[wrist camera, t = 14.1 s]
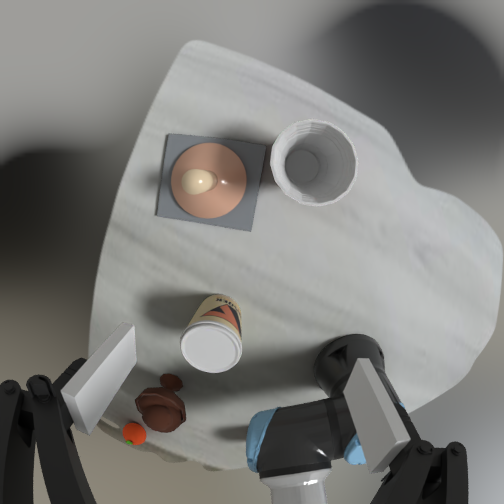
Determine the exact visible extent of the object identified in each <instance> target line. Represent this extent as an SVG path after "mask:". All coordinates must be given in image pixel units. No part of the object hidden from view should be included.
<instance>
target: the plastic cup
mask: <svg viewBox="0 0 504 504" xmlns="http://www.w3.org/2000/svg"><path fill="white" fill-rule="evenodd" d="M358 163H359V161H358V157H357V154H356V150H355V147H354V144H353V143H352V142H351V140H350V139H349V138H348V136H347V135H346V134H345V132H344V131H343V130H341V129H340V128H338V127H336V126H335V125H333V124H331V123H330V122H327V121H322V120H316V119H307V120H303V121H298V122H294V123H293V124H291V125H290V126H289V127H287V128H286V129H284V130H283V131H282V132H281V133H280V134H279V136H278V138H277V139H276V141H275V143H274V144H273V146H272V152H271V160H270V165H271V169H272V172H273V176H274V180H275V182H276V183H277V184H278V185H279V187H280V188H281V189H282V191H283V192H284V193H285V194H286V195H287V196H289V197H290V198H292V199H294V200H295V201H297V202H299V203H300V204H305V205H311V206H317V207H319V206H323V205H327V204H332V203H335V202H337V201H338V200H339V199H341V198H342V197H343V196H345V195H346V194H347V193H349V191H350V189H351V187H352V186H353V184H354V182H355V180H356V179H357V172H358Z"/></svg>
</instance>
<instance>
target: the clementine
mask: <svg viewBox="0 0 504 504" xmlns="http://www.w3.org/2000/svg"><path fill="white" fill-rule="evenodd" d="M123 436H124V438H125V440H126V443H128V444H133V445H139V444H142V443H143V442H144V441H145V439H146V432H145V430H144V428H143V427H142V426H141V425H139V424H136V423H129V424H127V425H126V426H125V427H124V428H123Z"/></svg>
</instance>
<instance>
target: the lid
mask: <svg viewBox="0 0 504 504" xmlns="http://www.w3.org/2000/svg"><path fill="white" fill-rule="evenodd" d="M246 183H247V176H246V171H245V167H244V165H243V163H242V161H241V160H240V158H239V157H238V156H237V154H235V153H234V152H233V151H232V150H231V149H229V148H228V147H226V146H223V145H221V144H217V143H202V144H198V145H195V146H193V147H191V148H189V149H188V150H187V151H185V152H184V153H183V154H182V155H181V156H180V157H179V159H178V160H177V162H176V164H175V166H174V168H173V171H172V176H171V186H172V191H173V195H174V197H175V199H176V201H177V202H178V204H179V205H180V206H181V207H182V208H183V209H184V210H185V211H187V212H188V213H190V214H191V215H193V216H196V217H200V218H217V217H220V216H223V215H225V214H227V213H228V212H230V211H231V210H232V209H234V208H235V207H236V206H237V205H238V203H239V202H240V200H241V199H242V197H243V195H244V192H245V189H246Z"/></svg>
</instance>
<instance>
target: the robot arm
mask: <svg viewBox="0 0 504 504" xmlns="http://www.w3.org/2000/svg"><path fill="white" fill-rule="evenodd" d="M136 362H137V358H136V346H135V331H134V325H132V324H128V323H125V322H122V323H121V324H120V325H119V327H118V328H117V329H116V330H115V331H114V332H113V333H112V334H111V335H110V336H109V337H108V338H107V339H106V340H105V342H104V343H103V344H102V345H101V346H100V347H99V348H98V349H97V350H96V351H95V352H94V354H93V355H92V356H91V357H90V358H89V359H88V360H86V359H84V358H79V359H78V360H75V361H74V362H72V364H71V365H70V366H69V367H68V368H67V369H66V370H65V371H64V373H62V374H61V376H59V378H58V379H57V380H56V381H55V382H54V383H53V384H52V383H51V381H50V379H49V378H48V377H47V376H44V375H34V376H32V377H30V378H29V379H28V381H27V384H26V386H27V388H28V391H25V390H22V389H21V387H20V385H19V384H18V382H16V381H14V380H6V381H4V382H3V383H1V385H0V504H33V470H34V453H35V444H36V442H37V448H38V453H39V459H40V464H41V469H42V473H43V477H44V481H45V485H46V488H47V492H48V495H49V498H50V502H51V504H96V501H95V499H94V497H93V494H92V492H91V489H90V487H89V484H88V482H87V479H86V476H85V474H84V471H83V468H82V465H81V462H80V459H79V456H78V452H77V449H76V446H75V442H74V439H73V434H72V431H71V429H70V427H71V425H72V424H73V423H74V425H75V427H76V429H77V430H79V431H81V432H83V433H85V434H87V435H90V434H91V433H92V431H93V429H94V428H95V426H96V424H97V423H98V421H99V420H100V418H101V416H102V415H103V413H104V412H105V410H106V408H107V407H108V405H109V404H110V402H111V401H112V399H113V397H114V396H115V394H116V393H117V391H118V390H119V388H120V387H121V385H122V383H123V382H124V380H125V379H126V377H127V376H128V374H129V373H130V371H131V370H132V368H133V367H134V365H135V364H136ZM314 374H315V378H316V381H317V383H318V385H319V387H320V388H321V389H322V390H324V392H325V393H326V394H327V396H328V397H329V398H327V399H322V400H318V401H313V402H308V403H304V404H298V405H293V406H287V407H277V408H275V409H270V410H265V411H260V412H258V413H256V414H255V415H254V416H253V417H252V419H251V421H250V424H249V427H248V431H247V438H246V456H247V463H248V467H249V469H250V470H251V471H253V472H256V473H259V476H260V481H261V482H262V483H264V484H265V485H267V486H268V487H269V488H270V490H271V500H272V504H327V497H326V490H325V484H324V481H325V478H326V477H327V476H328V475H329V473H330V472H331V471H332V468H331V467H332V466H331V460H335V459H340V458H344V459H345V460H346V461H347V462H348V463H349V464H352V465H356V464H359V465H360V464H365V463H367V466H368V470H369V473H370V474H372V473H378V472H383V471H384V470H385V469H386V468H387V467H388V466H389V467H390V472H389V473H388V474H387V475H386V476H385V477H384V478H383V479H382V480H381V481H383V480H384V479H385V480H384V482H383V483H382V485H381V487H380V488H379V490H378V492H377V494H376V495H375V497H374V498H373V500H372V502H371V503H370V504H468V466H467V454H466V449H465V447H464V446H463V445H462V444H461V443H459V442H451V443H449V445H448V446H447V447H446V448H434V447H433V445H432V444H431V443H430V442H428V441H425V440H421V438H420V437H419V434H418V433H417V431H416V429H415V427H414V425H413V423H412V422H411V419H410V417H409V416H408V414H407V412H406V410H405V407H404V405H403V404H402V403H401V401H400V399H399V397H398V395H397V394H396V392H395V390H394V388H393V386H392V385H391V383H390V381H389V379H388V378H387V376H386V374H385V365H384V355H383V352H382V349H381V348H380V346H379V344H378V343H377V342H376V341H375V340H374V339H373V338H371V337H369V336H366V335H360V334H356V335H349V336H345V337H342V338H340V339H337V340H335V341H334V342H332V343H331V344H329V345H328V346H327V347H326V348H324V349H323V351H322V352H321V353H320V354H319V356H318V357H317V359H316V362H315V365H314Z"/></svg>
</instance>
